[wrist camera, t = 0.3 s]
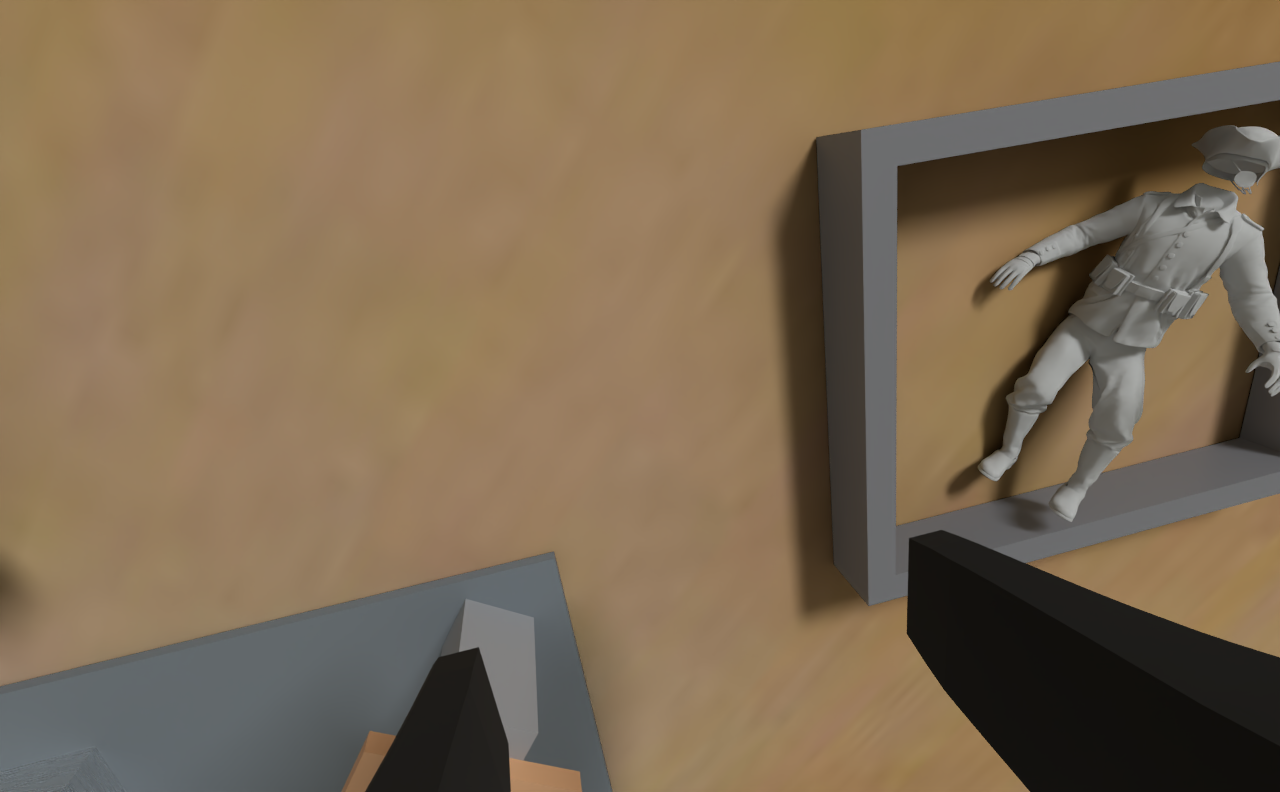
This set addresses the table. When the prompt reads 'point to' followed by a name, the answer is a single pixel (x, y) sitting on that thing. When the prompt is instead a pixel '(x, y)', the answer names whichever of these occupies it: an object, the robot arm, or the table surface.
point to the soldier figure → (1146, 300)
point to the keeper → (514, 690)
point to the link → (63, 775)
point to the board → (298, 692)
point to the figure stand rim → (867, 346)
